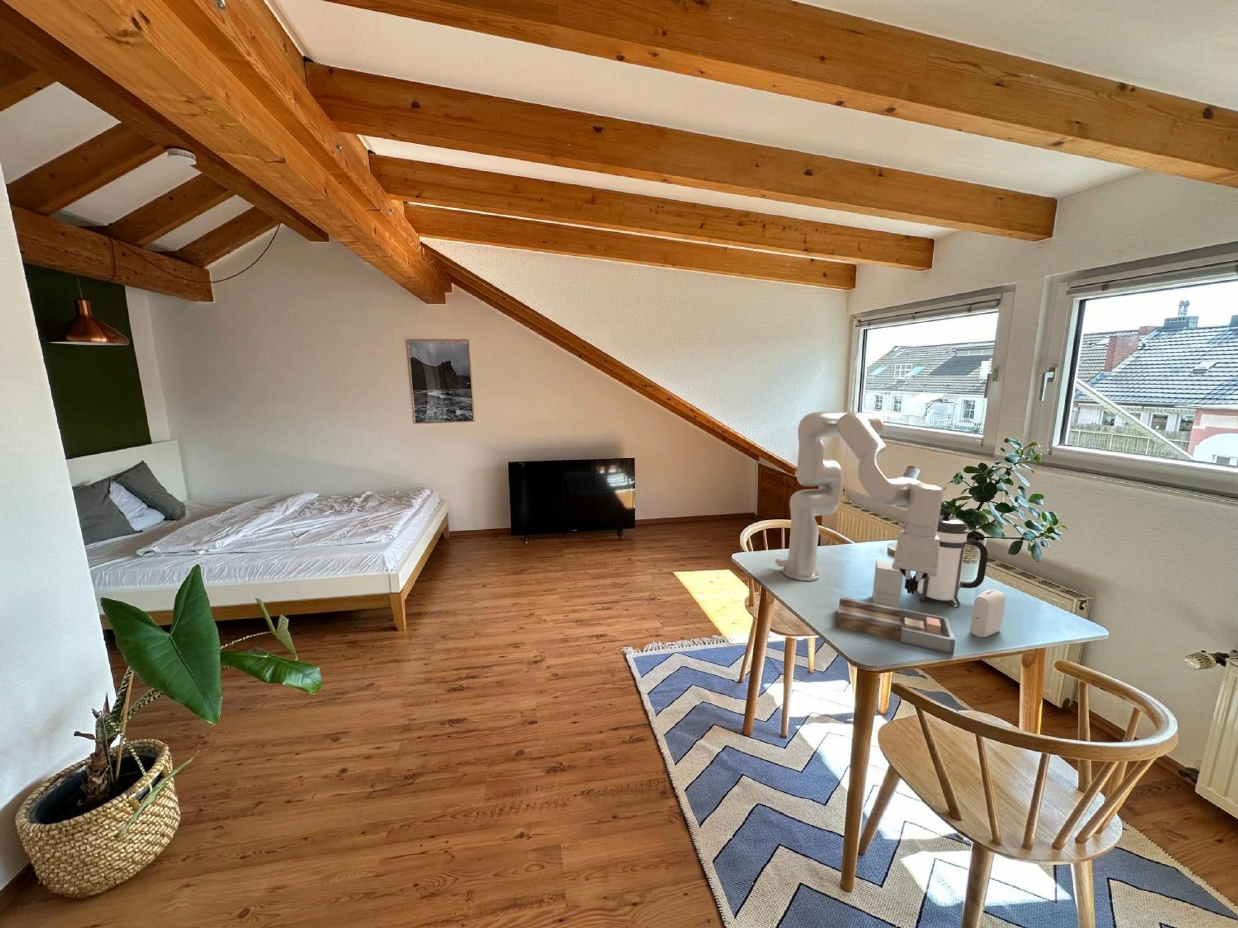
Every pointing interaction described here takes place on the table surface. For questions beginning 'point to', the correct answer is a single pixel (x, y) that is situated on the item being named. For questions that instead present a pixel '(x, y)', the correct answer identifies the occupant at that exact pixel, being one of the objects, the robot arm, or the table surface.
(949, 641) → the tray
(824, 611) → the table surface
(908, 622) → the beige block
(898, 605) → the supplement box
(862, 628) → the slot block
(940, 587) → the coffee press
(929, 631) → the salmon orange block
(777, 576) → the table surface
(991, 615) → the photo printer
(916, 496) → the robot arm
